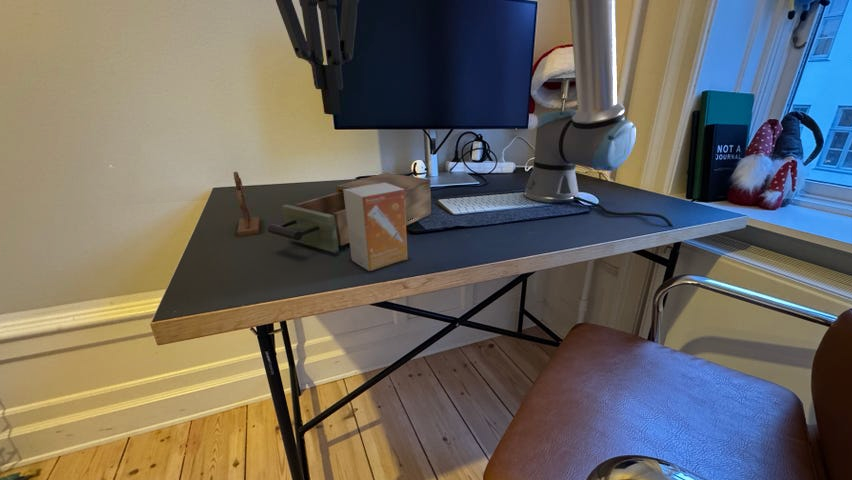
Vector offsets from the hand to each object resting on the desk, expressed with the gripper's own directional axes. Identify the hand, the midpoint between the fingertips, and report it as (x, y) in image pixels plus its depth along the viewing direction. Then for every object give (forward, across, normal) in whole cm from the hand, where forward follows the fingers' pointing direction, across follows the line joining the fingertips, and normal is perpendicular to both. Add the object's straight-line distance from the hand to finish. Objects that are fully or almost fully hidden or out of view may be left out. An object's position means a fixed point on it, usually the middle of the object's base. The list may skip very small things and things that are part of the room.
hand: (332, 113), depth 56 cm
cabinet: (+24, +16, +16) cm, 33 cm away
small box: (+24, +4, -4) cm, 25 cm away
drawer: (+23, 0, +10) cm, 25 cm away
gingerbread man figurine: (+24, -10, +28) cm, 39 cm away
